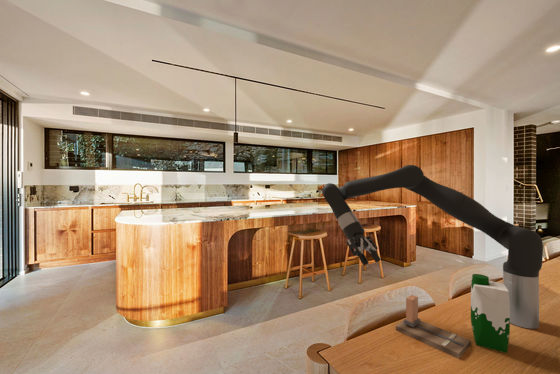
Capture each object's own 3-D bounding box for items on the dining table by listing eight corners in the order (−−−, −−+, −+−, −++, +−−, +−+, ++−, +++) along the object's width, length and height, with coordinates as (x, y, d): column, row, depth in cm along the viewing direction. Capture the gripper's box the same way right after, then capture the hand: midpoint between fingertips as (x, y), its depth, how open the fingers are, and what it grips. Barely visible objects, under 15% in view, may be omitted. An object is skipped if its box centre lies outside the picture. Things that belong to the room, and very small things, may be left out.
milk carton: (469, 332, 84) (469, 270, 84) (505, 340, 79) (505, 275, 79) (472, 346, 76) (472, 278, 76) (512, 356, 71) (512, 284, 71)
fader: (403, 323, 85) (403, 297, 85) (411, 318, 88) (411, 294, 88) (413, 327, 83) (413, 301, 83) (420, 322, 86) (420, 297, 86)
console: (395, 330, 85) (395, 324, 85) (410, 320, 91) (410, 315, 91) (458, 358, 70) (458, 352, 70) (471, 345, 76) (471, 339, 76)
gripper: (346, 221, 96) (370, 260, 88) (366, 220, 106) (389, 256, 98) (333, 231, 101) (354, 270, 93) (354, 229, 110) (375, 264, 102)
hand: (372, 263), depth 95 cm, fingers open, 8 cm apart
